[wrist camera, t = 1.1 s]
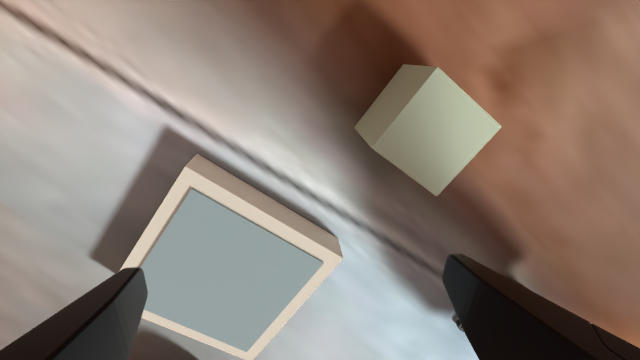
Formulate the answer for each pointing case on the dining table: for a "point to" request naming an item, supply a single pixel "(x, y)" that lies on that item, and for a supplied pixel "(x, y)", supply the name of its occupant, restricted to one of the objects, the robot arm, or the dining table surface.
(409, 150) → the cube
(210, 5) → the dining table surface
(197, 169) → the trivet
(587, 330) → the robot arm
